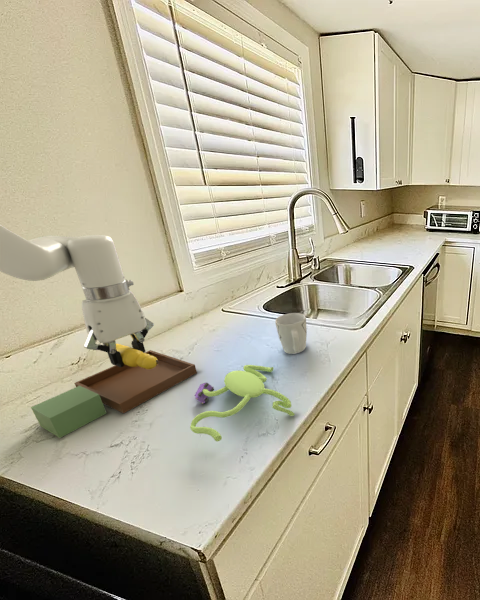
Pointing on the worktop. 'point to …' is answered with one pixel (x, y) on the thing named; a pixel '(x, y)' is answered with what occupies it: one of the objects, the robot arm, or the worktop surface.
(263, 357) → the worktop surface
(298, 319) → the mug
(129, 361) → the yellow stacked capsules
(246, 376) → the figurine
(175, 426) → the worktop surface
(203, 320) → the worktop surface
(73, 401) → the block
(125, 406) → the tray
